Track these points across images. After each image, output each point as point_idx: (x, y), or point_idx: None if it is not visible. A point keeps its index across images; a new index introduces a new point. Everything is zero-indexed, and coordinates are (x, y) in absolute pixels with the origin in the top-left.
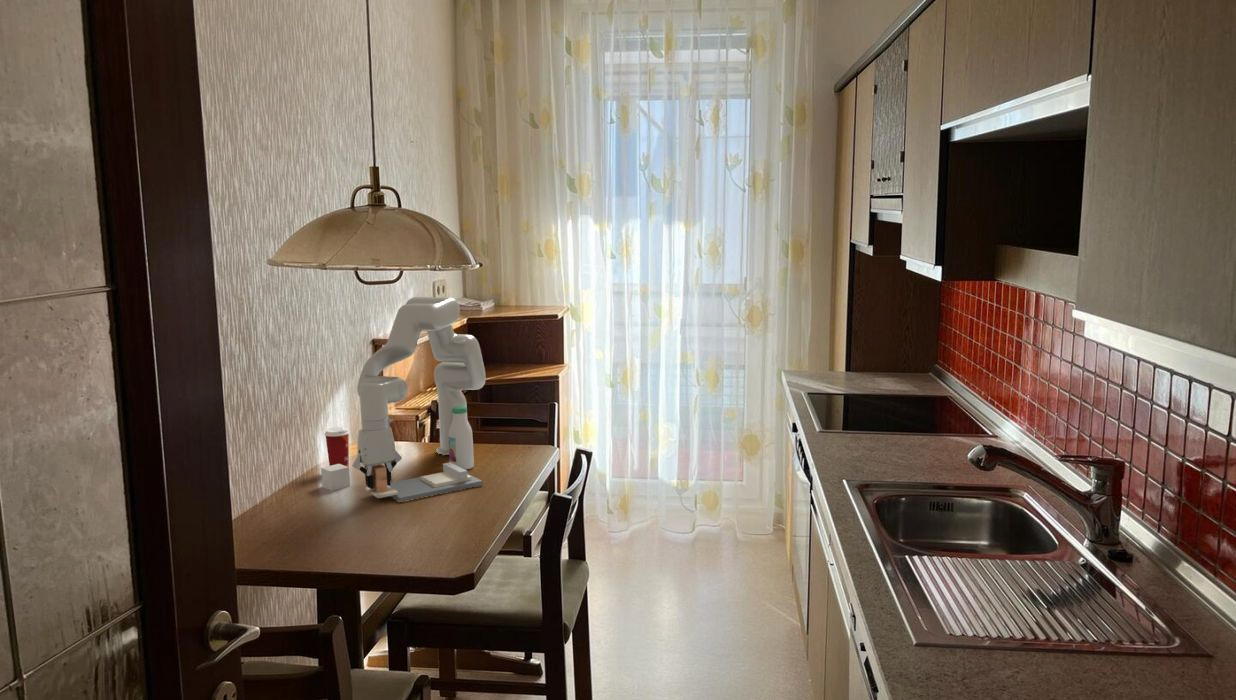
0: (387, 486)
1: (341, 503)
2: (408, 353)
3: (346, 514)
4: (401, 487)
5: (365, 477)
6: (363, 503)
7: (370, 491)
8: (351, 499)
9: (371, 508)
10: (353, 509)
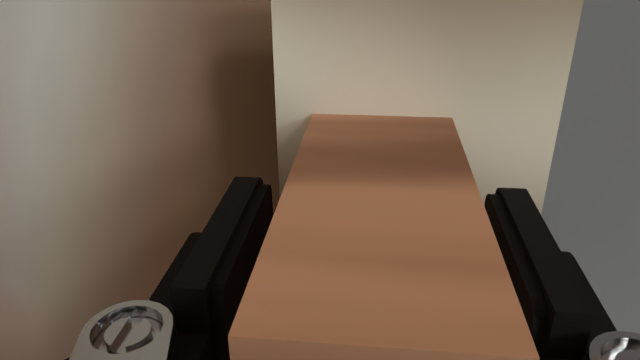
0: (524, 156)
1: (5, 75)
2: None
3: (25, 355)
4: None
5: (156, 297)
6: (194, 211)
7: (280, 173)
8: (116, 9)
9: None
10: (87, 294)
